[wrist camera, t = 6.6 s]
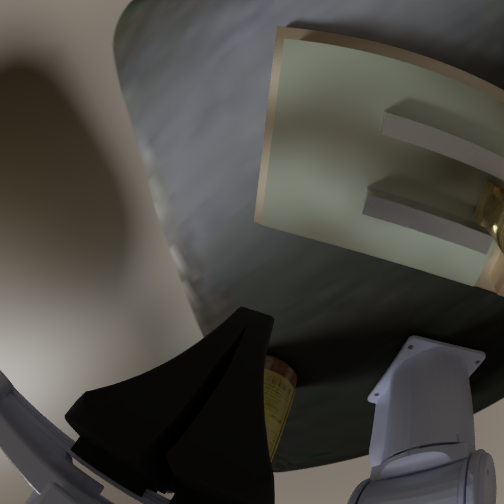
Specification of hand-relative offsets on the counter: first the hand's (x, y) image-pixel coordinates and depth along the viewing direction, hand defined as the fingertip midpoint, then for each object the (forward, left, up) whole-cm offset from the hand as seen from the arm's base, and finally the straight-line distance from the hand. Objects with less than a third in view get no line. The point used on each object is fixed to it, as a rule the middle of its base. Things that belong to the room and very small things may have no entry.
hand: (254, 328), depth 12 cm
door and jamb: (+6, -10, -9) cm, 15 cm away
